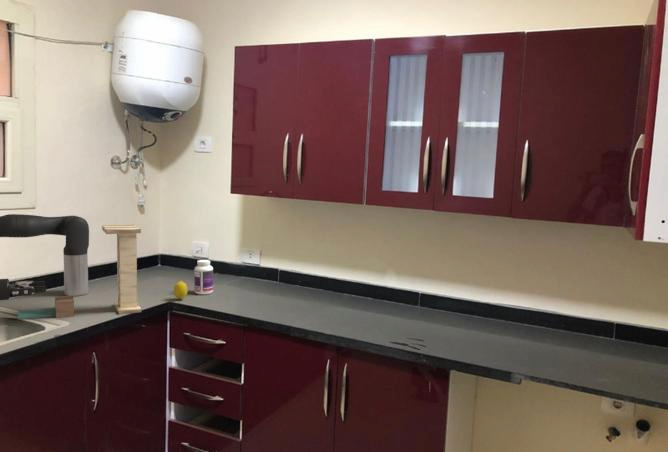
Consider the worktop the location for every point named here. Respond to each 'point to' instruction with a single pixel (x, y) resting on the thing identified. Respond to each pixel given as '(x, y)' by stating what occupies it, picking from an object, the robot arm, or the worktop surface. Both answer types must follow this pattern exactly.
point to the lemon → (180, 290)
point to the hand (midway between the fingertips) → (45, 286)
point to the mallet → (51, 309)
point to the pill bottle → (203, 277)
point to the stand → (126, 266)
